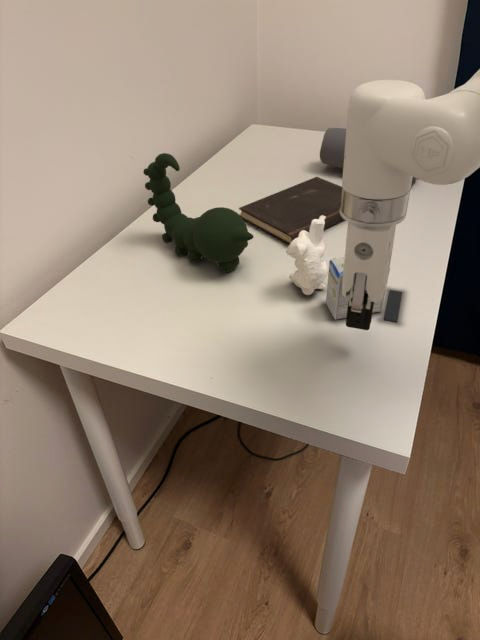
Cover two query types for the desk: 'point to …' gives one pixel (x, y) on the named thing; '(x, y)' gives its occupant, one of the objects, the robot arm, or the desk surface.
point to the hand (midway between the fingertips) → (358, 324)
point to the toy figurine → (195, 222)
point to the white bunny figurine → (309, 258)
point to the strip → (393, 306)
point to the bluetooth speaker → (334, 147)
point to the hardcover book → (295, 209)
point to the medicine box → (334, 291)
